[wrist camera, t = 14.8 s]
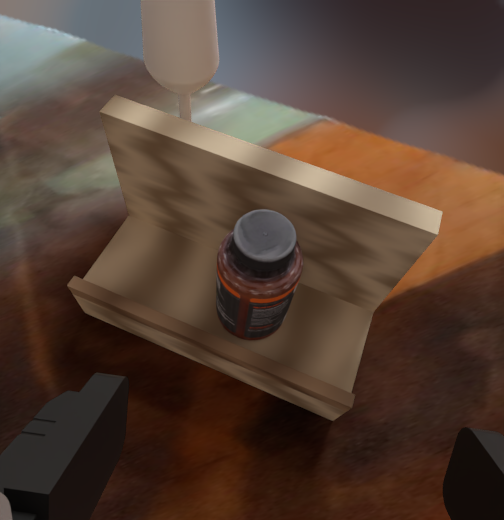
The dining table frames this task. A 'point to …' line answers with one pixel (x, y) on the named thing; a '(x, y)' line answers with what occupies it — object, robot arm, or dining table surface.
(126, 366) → the dining table surface
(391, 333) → the dining table surface
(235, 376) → the board
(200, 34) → the champagne flute
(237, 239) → the supplement bottle
